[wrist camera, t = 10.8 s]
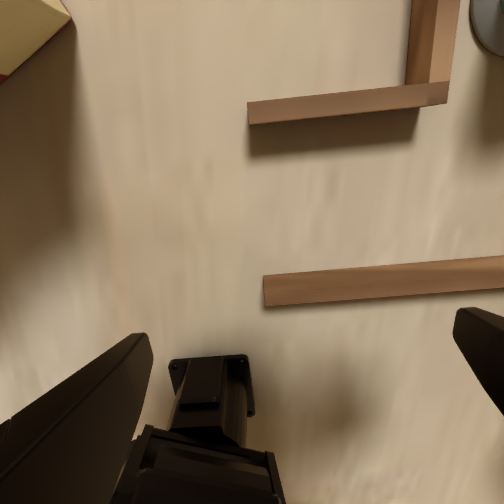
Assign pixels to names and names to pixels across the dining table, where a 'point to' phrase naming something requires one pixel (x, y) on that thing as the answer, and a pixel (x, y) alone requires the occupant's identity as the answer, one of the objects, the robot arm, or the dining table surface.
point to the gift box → (27, 29)
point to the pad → (489, 24)
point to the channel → (376, 100)
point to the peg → (502, 5)
